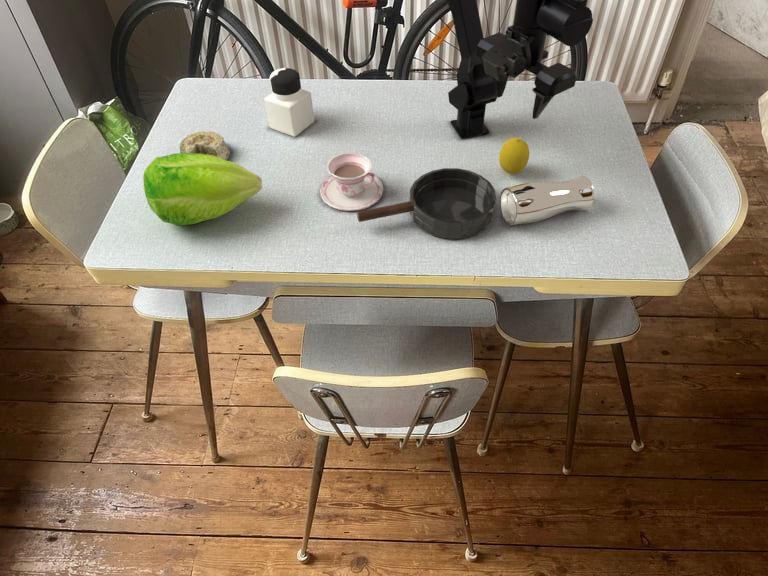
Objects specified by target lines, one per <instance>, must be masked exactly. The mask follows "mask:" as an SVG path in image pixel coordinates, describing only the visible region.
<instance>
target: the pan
mask: <svg viewBox="0 0 768 576" xmlns="http://www.w3.org/2000/svg"><path fill="white" fill-rule="evenodd" d="M409 201H413V203H414V204H413V211H411V212H409V215H410V217H411V220H412V222H413V223H414V224H415V225H416V226H417V227H418V228H419V229H420V230H422V231H423V232H426V233H427V234H429V235H431V236H433V237H437V238H442V239H448V240H457V239H458V240H459V239H461V240H462V239H465V238H470V237H473V236H476V235H478V234H480V233H481V232H483V231H485V230H486V229H487V228H488V226H490V225H491V224H492V222H493V218H494V216H495V211H496V205H497V201H498V200H497V192H496V189H495V188H494V186H493V185H492V183H491V181H489V180H488V179H486V178H485V177H484V176H482V175H481V174H479V173H476V172H474V171H471V170H467V169H463V168H457V167H456V168H455V167H453V168H452V167H446V168H445V167H444V168H439V169H433V170H431V171H428V172H426V173H424V174H422V175H420V176H419V177H418V178H416V180H415V181H414V182H413V184H412V185H411V187H410V189H409Z"/></svg>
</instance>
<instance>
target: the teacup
mask: <svg viewBox="0 0 768 576" xmlns="http://www.w3.org/2000/svg"><path fill="white" fill-rule="evenodd" d="M325 168H326V170H327V172H328V173H329V175H330V176H328V177H327V178H326V179H325V180H324V181H323V182H322V184H321V186H320V188H319V189H320V190H319V191H320V192H319V193H320V197H321V199H322V201H323V202H324V203H325V204H326V205H327V206H329V207H331V208H332V209H335V210H338V211H345V212H356V211H363V210H366V209H367V208H370V207H371V206H373V205H375V204H377V202H378V201H380V199H382V196H383V194H384V185H383V182H382V181H381V180H380V178H379V177H378V176H376V174H375V173H373V172H371V171H372V168H373V164H372V161H371V160H370V159H369V158H368V157H367V156H365V155H363V154H360V153H356V152H343V153H342V152H341V153H337V154H335V155H333V156H331V157H330V158H328V159H327V161H326V164H325Z"/></svg>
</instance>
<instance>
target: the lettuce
mask: <svg viewBox="0 0 768 576" xmlns="http://www.w3.org/2000/svg"><path fill="white" fill-rule="evenodd" d="M142 177H143V189H144V195H145V198H146V202H147V204H148V206H149V208H150V209H151V211H152V212H153V213H154V214H155V215H156V216H157V217H158V218H159V219H160V220H161V221H162V222H163V223H166V224H169V225H174V226H189V225H196V224H198V223H202V222H204V221H205V222H206V221H208V220H212V219H218V218H220V217H221V216H223V215H225V214H228V213H229V212H230V211H232V210H234V209H236V208H237V207H239V206H240V205H242V204H243V203H244V202H245V201H247V200H249V199H250V198H252V197H253V196H255V195H256V194H258V193H259V192H260V191H261V190H262V189H263V181H262V177H260V176H259V175H258V174H256V173H255V172H252V171H250V170H248V169H247V168H245V167H244V166H242V165H240V164H237V163H235V162H232V161H229V160H228V159H226V160H224V159H221V158H218V157H216V156H213V155H207V154H195V153H181V152H180V153H179V152H178V153H171V154H167V155H163V156H156V157H155V158H154V159H153V160H152V161H151V162H150V163H149V164H148V166H146V168H145V169H144V171H143V176H142Z"/></svg>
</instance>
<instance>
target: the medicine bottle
mask: <svg viewBox="0 0 768 576" xmlns="http://www.w3.org/2000/svg"><path fill="white" fill-rule="evenodd" d="M300 77H301V76H300V73H299V72H298V71H297V70H296V69H293V68H290V67H283V68H282V67H281V68H278V69H275V70H274V71H272V72H271V74H270V75H269V83H270V88H271V93H270V94H268V95H267V96H266V97H264V98H263V100H264V105H265V111H266V116H267V121H268V125H269V126H268V127H269V128H270V129H272V130H275V131H278V132H280V133H283V134H286V135H288V136H291V137H293V138H294V137H297V136H298V135H299V134H300V133H302V132H303V131H304V130H306V129H307V128H308V127H310V126H311V125H312V124H313V123H314V122H315V115H314V107H313V105H314V104H313V100H312V99H313V97H312V92H311V91H309V90H305V89H303V88H302V84H301V78H300Z"/></svg>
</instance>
